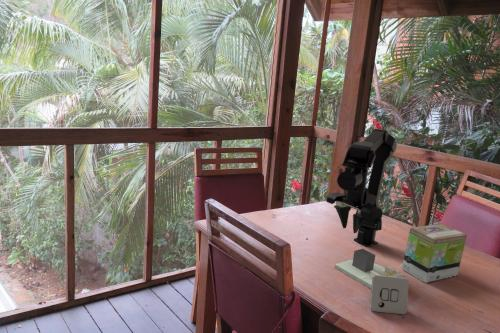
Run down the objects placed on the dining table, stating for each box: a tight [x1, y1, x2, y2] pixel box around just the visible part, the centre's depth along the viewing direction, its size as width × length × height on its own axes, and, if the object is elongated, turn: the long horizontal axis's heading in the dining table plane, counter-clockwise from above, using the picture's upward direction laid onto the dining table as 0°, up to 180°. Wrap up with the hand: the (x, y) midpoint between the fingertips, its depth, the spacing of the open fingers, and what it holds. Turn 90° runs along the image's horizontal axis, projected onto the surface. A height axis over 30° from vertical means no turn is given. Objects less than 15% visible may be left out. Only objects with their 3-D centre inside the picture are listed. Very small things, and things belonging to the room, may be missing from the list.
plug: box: [352, 248, 376, 272], centre depth 126 cm, size 4×5×5 cm
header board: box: [334, 258, 404, 290], centre depth 124 cm, size 17×13×4 cm
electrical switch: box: [369, 275, 410, 315], centre depth 106 cm, size 9×5×9 cm, turn 86°
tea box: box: [401, 223, 468, 284], centre depth 128 cm, size 15×10×15 cm, turn 117°
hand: (349, 230), depth 130 cm, fingers open, 4 cm apart
